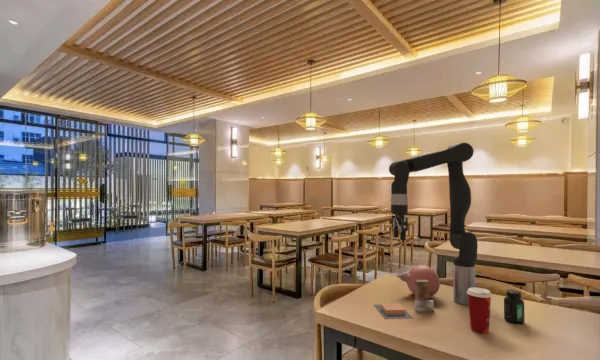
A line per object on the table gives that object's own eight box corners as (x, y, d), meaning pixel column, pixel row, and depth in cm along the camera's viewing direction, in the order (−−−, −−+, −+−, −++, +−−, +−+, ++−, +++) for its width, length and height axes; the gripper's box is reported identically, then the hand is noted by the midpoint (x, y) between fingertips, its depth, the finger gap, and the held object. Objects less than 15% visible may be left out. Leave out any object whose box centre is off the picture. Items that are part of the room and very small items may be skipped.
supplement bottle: (525, 326, 123) (524, 295, 123) (504, 322, 126) (503, 292, 127) (523, 320, 129) (523, 290, 129) (503, 316, 132) (503, 287, 133)
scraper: (429, 309, 140) (429, 279, 141) (433, 312, 136) (433, 282, 137) (411, 309, 140) (411, 279, 140) (415, 313, 136) (415, 282, 136)
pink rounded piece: (396, 290, 167) (396, 260, 168) (437, 293, 161) (437, 263, 162) (396, 299, 153) (396, 267, 153) (442, 304, 147) (441, 270, 147)
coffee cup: (497, 335, 115) (496, 293, 116) (474, 335, 115) (473, 293, 116) (484, 325, 124) (483, 286, 124) (463, 325, 124) (462, 286, 124)
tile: (399, 303, 139) (405, 309, 132) (399, 308, 139) (405, 314, 132) (381, 304, 139) (386, 310, 132) (381, 308, 139) (386, 315, 132)
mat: (399, 306, 144) (399, 304, 144) (413, 320, 128) (413, 318, 128) (373, 306, 144) (373, 304, 144) (384, 321, 128) (384, 319, 128)
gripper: (413, 204, 141) (413, 241, 140) (401, 203, 155) (401, 236, 155) (396, 204, 140) (397, 241, 140) (386, 203, 155) (386, 236, 154)
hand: (399, 238), depth 147 cm, fingers open, 8 cm apart
